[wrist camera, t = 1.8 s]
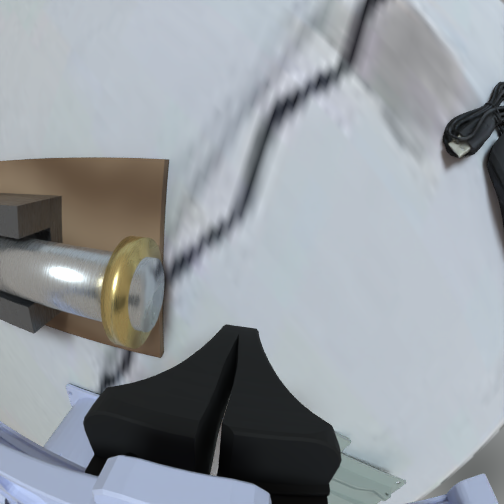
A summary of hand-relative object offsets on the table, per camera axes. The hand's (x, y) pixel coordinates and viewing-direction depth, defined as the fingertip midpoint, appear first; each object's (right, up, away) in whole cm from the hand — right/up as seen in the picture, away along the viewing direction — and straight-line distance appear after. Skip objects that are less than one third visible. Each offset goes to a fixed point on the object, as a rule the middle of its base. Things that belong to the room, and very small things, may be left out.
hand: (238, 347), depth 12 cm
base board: (-18, +5, +8) cm, 21 cm away
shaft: (-12, +3, +7) cm, 15 cm away
